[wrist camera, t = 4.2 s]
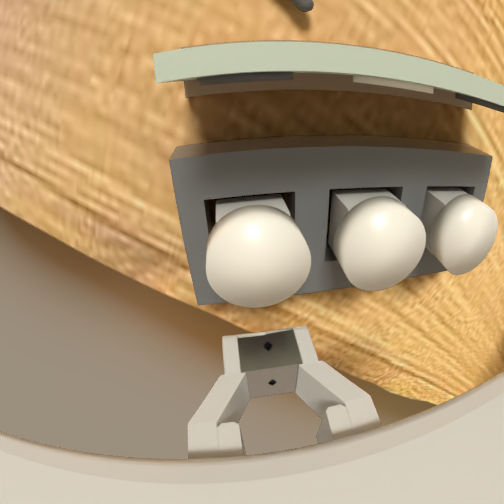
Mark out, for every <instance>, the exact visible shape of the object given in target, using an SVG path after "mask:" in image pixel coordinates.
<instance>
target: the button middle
mask: <svg viewBox="0 0 504 504" xmlns="http://www.w3.org/2000/svg"><path fill="white" fill-rule="evenodd" d="M328 244H329V246H330V247H331V249H332V251H333V253H334V254H335V256H336V258H337V260H338V262H339V264H340V265H341V267H342V269H343V271H344V273H345V274H346V276H347V278H348V280H349V281H350V282H351V283H352V284H353V285H354V286H355V287H357V288H359V289H362V290H366V291H379V290H383V289H387V288H389V287H392V286H394V285H396V284H397V283H399V282H400V281H402V280H403V279H404V278H406V277H407V276H408V275H409V274H410V273H411V272H412V271H413V270H414V268H415V267H416V266H417V264H418V263H419V261H420V259H421V257H422V255H423V252H424V249H425V244H426V233H425V229H424V226H423V224H422V222H421V221H420V219H419V218H418V217H417V216H416V215H414V214H413V213H412V212H411V211H410V210H409V209H408V208H407V207H406V205H404V204H403V203H402V202H401V201H400V200H399V199H397V198H396V197H395V196H394V195H393V194H391V193H390V192H389V191H388V190H387V189H385V188H379V189H353V190H333V191H332V198H331V214H330V227H329V239H328Z"/></svg>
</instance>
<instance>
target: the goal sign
mask: <svg viewBox="0 0 504 504" xmlns="http://www.w3.org/2000/svg"><path fill="white" fill-rule="evenodd" d="M153 58H154V69H155V78H156V83H164V82H175V81H184V87H185V96H186V98H188V97H195V96H203V95H212V94H221V93H232V92H245V91H263V90H334V91H352V92H365V93H376V94H385V95H393V96H401V97H408V98H415V99H421V100H427V101H432V102H437V103H443V104H447V105H452V106H457V107H461V108H465V109H469V110H472V103H475V104H478V105H481V106H485V107H488V108H491V109H494V110H497V111H500V112H503V113H504V86H503V85H501V84H498V83H496V82H493V81H491V80H488V79H486V78H483V77H480V76H478V75H475V74H474V73H472V72H469V71H466V70H463V69H460V68H457V67H454V66H451V65H447V64H444V63H440V62H437V61H433V60H429V59H426V58H422V57H418V56H413V55H409V54H404V53H400V52H395V51H389V50H384V49H378V48H372V47H365V46H358V45H350V44H341V43H330V42H316V41H294V40H260V41H238V42H224V43H214V44H204V45H196V46H189V47H182V48H181V49H178V50H172V51H166V52H161V53H155V54H153Z"/></svg>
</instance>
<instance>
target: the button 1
mask: <svg viewBox="0 0 504 504" xmlns="http://www.w3.org/2000/svg"><path fill="white" fill-rule="evenodd" d="M310 268H311V254H310V250H309V248H308V245H307V243H306V241H305V239H304V237H303V235H302V233H301V231H300V228H299V227H298V225H297V223H296V222H295V221H294V219H293V218H292V217H291V216H290V212H289V210H288V208H287V206H286V204H285V202H284V200H283V198H282V196H281V194H275V195H263V196H252V197H242V198H232V199H222V200H216V224H215V226H214V227H213V229H212V230H211V232H210V234H209V237H208V241H207V251H206V275H207V279H208V282H209V284H210V286H211V287H212V289H213V290H214V291H215V292H216V293H217V294H218V295H219V296H220V297H221V298H223V299H224V300H226V301H228V302H230V303H232V304H235V305H238V306H242V307H248V308H259V307H267V306H271V305H274V304H277V303H280V302H282V301H284V300H286V299H287V298H289V297H291V296H292V295H293V294H294V293H296V292H297V291H298V290H299V289H300V288H301V286H302V285H303V284H304V282H305V281H306V279H307V277H308V275H309V271H310Z"/></svg>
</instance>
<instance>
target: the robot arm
mask: <svg viewBox="0 0 504 504" xmlns="http://www.w3.org/2000/svg"><path fill="white" fill-rule="evenodd" d="M237 339H238V340H237ZM222 344H223V357H224V358H223V359H224V372H225V374H224V375H220V376H219V378H218V380H217V381H216V383H215V384H214V386H213V387H212V389H211V390H210V392H209V393H208V395H207V396H206V398H205V399H204V401H203V402H202V404H201V405H200V407H199V408H198V410H197V411H196V413H195V414H194V416H193V417H192V419H191V420H190V422H189V423H188V459H152V458H134V457H122V456H113V455H104V454H96V453H89V452H83V451H77V450H71V449H66V448H61V447H56V446H52V445H47V444H43V443H39V442H35V441H31V440H27V439H24V438H20V437H17V436H14V435H10V434H7V433H4V432H1V431H0V504H504V371H503V372H501V373H499V374H498V375H496V376H494V377H493V378H491V379H489V380H487V381H485V382H484V383H482V384H480V385H478V386H476V387H474V388H472V389H470V390H469V391H467V392H465V393H463V394H461V395H459V396H456V397H454V398H452V399H450V400H448V401H446V402H444V403H441V404H439V405H437V406H435V407H433V408H430V409H428V410H425V411H423V412H420V413H418V414H415V415H413V416H410V417H407V418H405V419H402V420H399V421H397V422H394V423H391V424H388V425H385V426H382V425H381V422H380V420H379V417H378V414H377V412H376V409H375V407H374V404H373V401H372V399H371V396H370V395H368V394H367V393H366V392H364V391H363V390H362V389H360V388H359V387H358V386H356V385H355V384H354V383H352V382H351V381H349V380H348V379H347V378H345V377H344V376H343V375H341V374H340V373H339V372H337V371H336V370H334V369H333V368H332V367H331V366H329V365H328V364H327V363H325V362H324V361H323V360H322V361H319V360H318V357H317V354H316V351H315V348H314V345H313V342H312V339H311V336H310V333H309V331H308V328H307V327H306V326H300V327H294V328H286V329H279V330H273V331H266V332H261V333H251V334H241V335H231V336H223V338H222ZM290 392H295V393H296V394H297V395H298V396H299V397H300V398H301V399H302V400H303V401H304V402H305V403H306V404H307V405H308V406H309V407H310V408H311V409H312V410H313V411H315V413H316V414H317V415H318V416H319V417H321V418H322V419H323V420H322V423H321V426H320V428H319V431H318V433H317V436H316V437H317V441H318V444H316V445H311V446H306V447H301V448H295V449H290V450H284V451H277V452H270V453H263V454H255V455H246V452H245V447H244V442H243V439H242V434H241V430H240V426H239V424H238V422H239V420H240V418H241V416H242V414H243V412H244V410H245V408H246V406H247V404H248V402H249V398H256V397H262V396H269V395H275V394H283V393H290Z"/></svg>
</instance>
